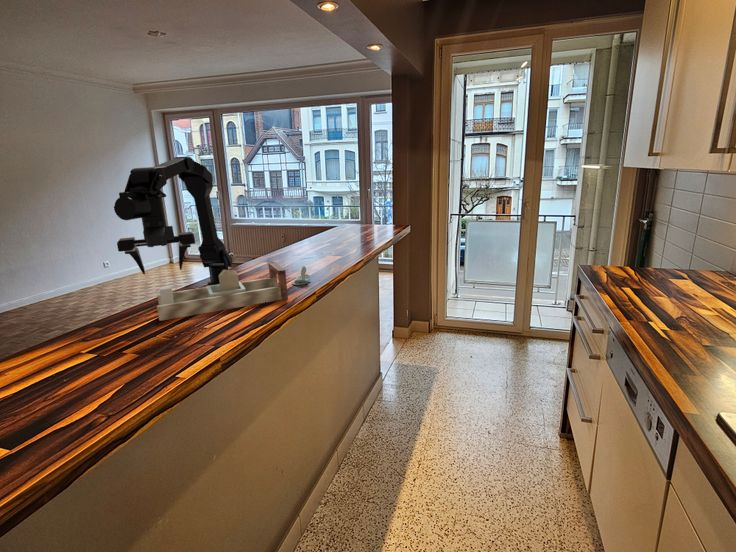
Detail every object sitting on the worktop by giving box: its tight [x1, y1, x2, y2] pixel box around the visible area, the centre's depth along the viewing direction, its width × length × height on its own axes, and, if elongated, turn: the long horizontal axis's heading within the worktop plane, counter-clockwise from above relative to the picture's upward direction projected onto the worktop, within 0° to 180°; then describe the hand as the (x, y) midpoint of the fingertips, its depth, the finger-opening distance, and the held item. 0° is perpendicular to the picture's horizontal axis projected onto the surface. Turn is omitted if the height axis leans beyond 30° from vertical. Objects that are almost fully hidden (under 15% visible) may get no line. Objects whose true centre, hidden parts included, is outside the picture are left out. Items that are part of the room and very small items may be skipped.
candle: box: [219, 269, 240, 292], centre depth 123 cm, size 6×6×10 cm
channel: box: [156, 261, 289, 322], centre depth 122 cm, size 36×13×9 cm, turn 116°
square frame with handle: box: [159, 280, 246, 305], centre depth 120 cm, size 22×10×7 cm, turn 116°
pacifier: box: [291, 265, 311, 286], centre depth 141 cm, size 7×6×6 cm
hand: (162, 271), depth 114 cm, fingers open, 9 cm apart
